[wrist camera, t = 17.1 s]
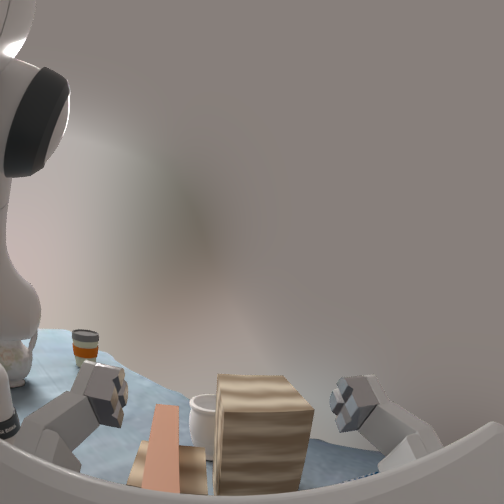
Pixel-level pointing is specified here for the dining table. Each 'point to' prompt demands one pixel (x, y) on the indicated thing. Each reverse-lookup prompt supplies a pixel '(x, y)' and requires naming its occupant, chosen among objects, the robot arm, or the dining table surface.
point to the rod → (163, 451)
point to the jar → (203, 422)
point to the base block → (189, 469)
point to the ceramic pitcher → (17, 360)
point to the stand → (259, 435)
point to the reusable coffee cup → (85, 345)
